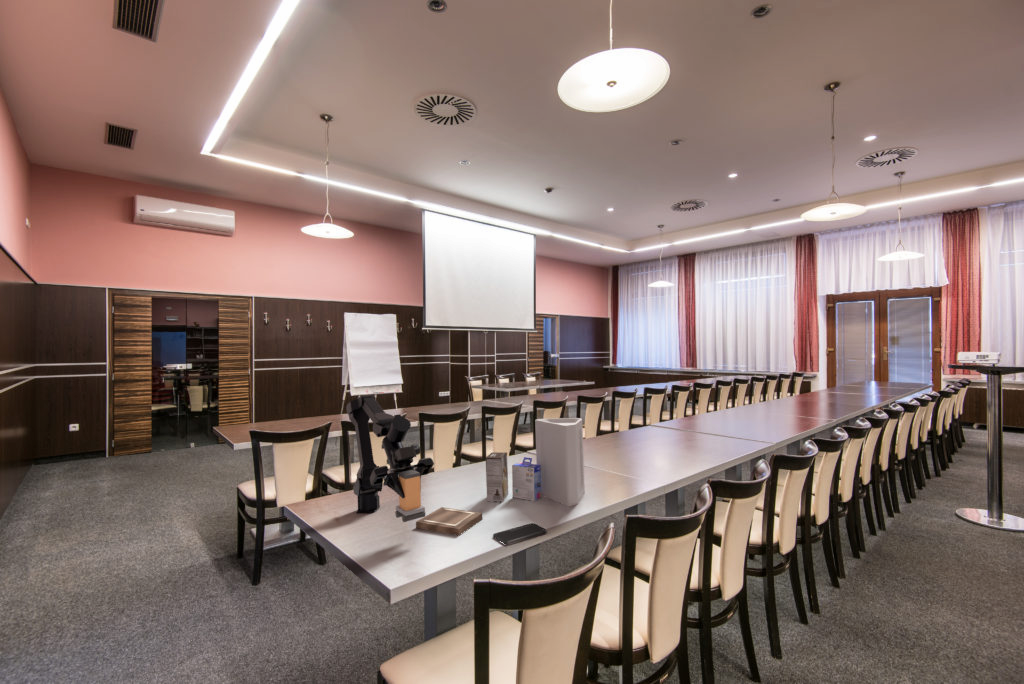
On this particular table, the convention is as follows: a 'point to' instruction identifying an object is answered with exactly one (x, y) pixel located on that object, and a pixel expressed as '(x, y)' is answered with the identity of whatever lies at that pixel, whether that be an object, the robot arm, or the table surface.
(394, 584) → the table surface
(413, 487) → the grey-topped tan box
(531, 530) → the phone
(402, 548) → the table surface
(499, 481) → the coffee box
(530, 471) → the ink cartridge box
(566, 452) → the white triangular vase
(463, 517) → the dock
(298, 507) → the table surface
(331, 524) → the table surface
